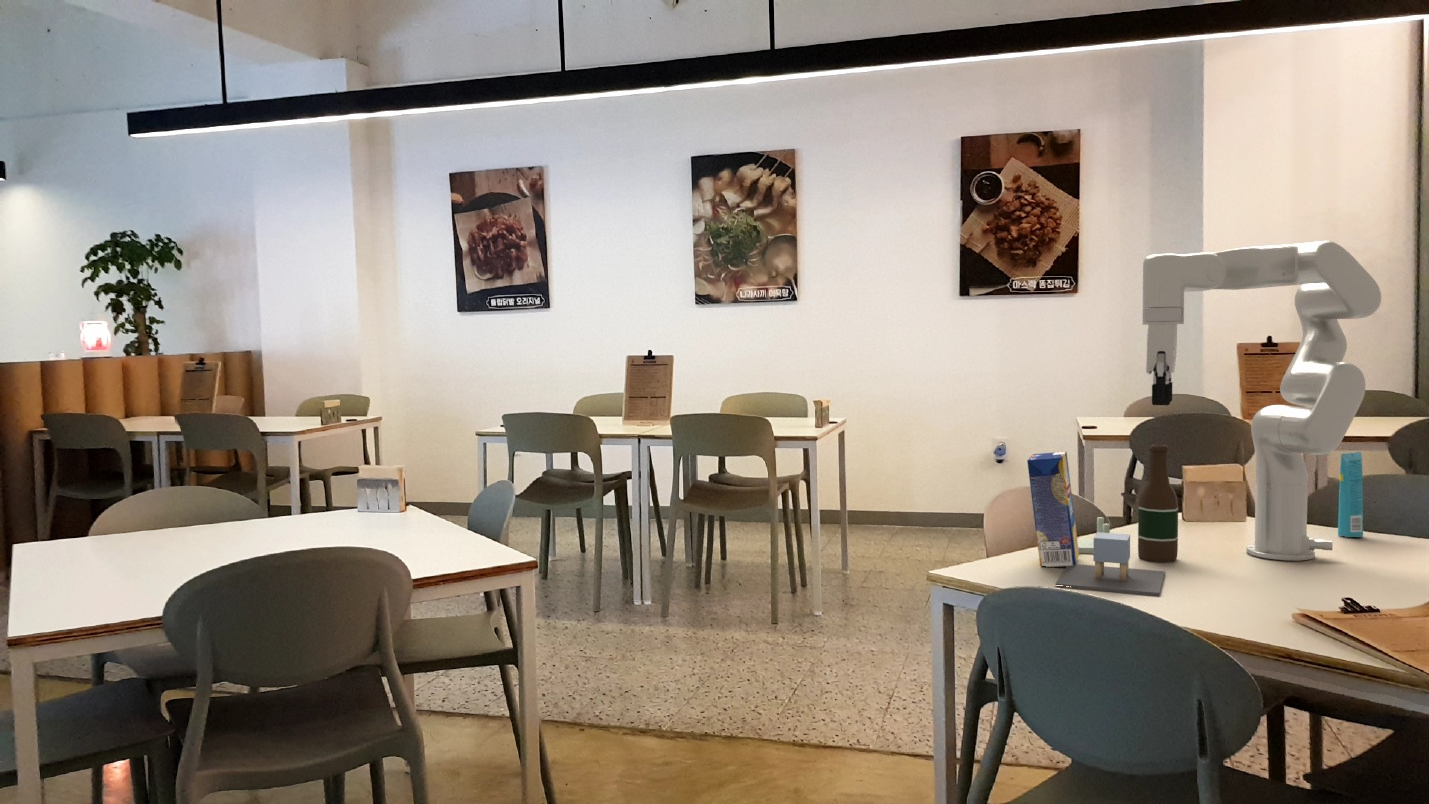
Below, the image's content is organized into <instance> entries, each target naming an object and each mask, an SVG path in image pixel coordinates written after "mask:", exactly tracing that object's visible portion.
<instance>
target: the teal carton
mask: <svg viewBox="0 0 1429 804" xmlns="http://www.w3.org/2000/svg"><path fill="white" fill-rule="evenodd" d="M1340 457H1341V458H1340V467H1339V468H1340V469H1339V486H1338V487H1339V491H1338V515H1337V516H1338V519H1337V535H1339V537H1340V536H1345V537H1344V538H1346V537H1361V538H1363V537H1362V536H1364V501H1363V499H1364V491H1363V490H1364V489H1363V487H1364V486H1363V483H1364V482H1363V480H1364V479H1363V478H1364V477H1363V476H1364V475H1363V458H1362V452H1361V451H1356V452H1348V453H1344V452H1343V453H1341V455H1340Z"/></svg>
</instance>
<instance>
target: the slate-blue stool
mask: <svg viewBox="0 0 1429 804" xmlns="http://www.w3.org/2000/svg"><path fill="white" fill-rule="evenodd" d="M1093 539H1094V553H1093V562H1094V566H1095V579H1098V580H1100V579H1102V574H1104V566H1105V563H1110V564H1119V568H1120V581H1122V582H1126V577H1127V576H1128V568H1129V563H1130V562H1129V561H1130V559H1131V534H1129V533H1114V532H1110V533H1101V532H1097V531H1096V533H1095V535H1094V537H1093Z"/></svg>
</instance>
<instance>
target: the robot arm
mask: <svg viewBox="0 0 1429 804" xmlns="http://www.w3.org/2000/svg"><path fill="white" fill-rule="evenodd" d="M1298 285H1300V286H1299V287H1298V289H1297V290H1296V292H1295V295H1294V306H1295V310H1296V313H1297V315H1298V318H1299V322H1300V325H1301V328H1302V337H1301V342H1300V344H1299V345H1298V348H1297V350H1296V351H1295V354H1294V355H1293V357H1292V360H1291V361H1290V363H1289V365H1288V368H1287V369H1286V370H1285V374H1284V375H1283V377H1282V380H1281V383H1280V385H1279V391H1280V392H1279V393H1280V395H1281V397H1282V399H1283V400H1285V402H1287V403H1290V404H1293V405H1289V404H1288V405H1287V404H1274V405H1273V404H1271V405H1268V406H1264V407H1263V408H1261V409H1259V410H1258V411H1257V412H1256V413H1255V414H1254V416H1253V418H1252V421H1251V424H1250V425H1251V426H1250V429H1251V430H1250V431H1251V439H1252V442H1253V447H1254V453H1255V506H1254V507H1255V508H1254V509H1255V510H1254V511H1255V512H1254V516H1255V517H1254V543H1253V544H1248V545H1247V546H1246V551H1245V552H1246V553H1247V554H1249V555H1250V556H1253V557H1257V558H1261V559H1262V558H1263V559H1267V560H1276V561H1277V560H1278V561H1288V562H1289V561H1292V562H1293V561H1295V562H1296V561H1307V560H1308V559H1309V560H1312V559H1314V558H1315V557H1316V552H1315V550H1322V551H1333V540H1325V539H1315V538H1311V537H1310V536H1309V533H1308V532H1307V531H1308V530H1307V529H1308V523H1307V522H1308V490H1309V489H1308V488H1309V487H1308V483H1309V472H1308V468H1307V465H1306V462H1305V460H1304V459H1305V458H1304V456H1302V454H1305V455H1315V456H1317V455H1318V456H1322V455H1323V456H1325V455H1328V454H1331V453H1333V452H1334V451H1336V449H1337V448H1338V447H1339V445H1340V444H1341V443H1342V441H1343V439H1344V437H1345V435H1346V434H1347V432H1348V430H1349V428H1350V426H1351V425H1352V423H1353V420H1354V418H1355V416H1356V414H1357V412H1358V410H1359V408H1360V407H1361V404H1362V402H1363V400H1364V397H1365V393H1366V379H1365V375H1364V373H1363V371H1362V370H1361V369H1360V368H1359V367H1358V366H1357V365H1355V364H1353V363H1350V362H1346V361H1345V362H1343V359H1344V357H1345V355H1346V353H1347V349H1348V345H1347V344H1348V343H1347V342H1348V341H1347V338H1346V336H1345V333H1344V331H1343V329H1342V327H1341V325H1340V323H1339V321H1338V320H1352V319H1353V320H1354V319H1355V320H1358V319H1364V318H1367V317H1369V316H1372V315H1373V314H1375V313H1376V312H1377V311H1378V309H1379V308H1380V305H1381V303H1382V291H1381V289H1380V287H1379V285H1378V283H1377V281H1376V280H1375V278H1374V277H1373V276H1372V275H1371V274H1370V273H1369V272H1368V271H1367V270H1366V269H1365V267H1363V266H1362V265H1361V264H1360V262H1359V261H1358V260H1357V259H1356V258H1355V256H1353V255H1352V254H1351V253H1350V252H1349V251H1347V249H1345V248H1344V247H1343V246H1341V245H1340V244H1338V243H1336V242H1334V241H1329V240H1323V241H1321V240H1320V241H1313V242H1312V241H1311V242H1303V243H1291V244H1288V243H1287V244H1276V245H1263V246H1247V247H1240V248H1234V249H1227V250H1223V251H1222V250H1221V251H1217V252H1195V253H1185V254H1177V253H1160V254H1158V253H1157V254H1151V255H1150V254H1149V255H1148V256H1146V257H1145V258H1144V260H1143V263H1142V325H1143V326H1146V325H1147V332H1146V333H1147V334H1146V336H1147V337H1146V366H1145V367H1146V368H1145V373H1146V374H1147V375H1151V374H1152V373H1153V374H1152V376H1153V378H1152V383H1153V384H1151V405H1153V406H1169V405H1170V404H1171V403H1172V401H1173V381H1172V374H1173V373H1174V372H1175V370H1176V369H1175V367H1176V359H1177V346H1178V325H1184V324H1185V293H1186V292H1187V293H1189V292H1204V291H1211V290H1231V291H1235V290H1236V291H1237V290H1238V291H1239V290H1253V289H1263V288H1276V287H1286V286H1288V287H1290V286H1298ZM1309 560H1308V561H1309Z"/></svg>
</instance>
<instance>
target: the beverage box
mask: <svg viewBox="0 0 1429 804" xmlns="http://www.w3.org/2000/svg"><path fill="white" fill-rule="evenodd" d="M1027 468H1028V476H1029V477H1028V478H1029V484H1030V485H1029V487H1030V492H1031V502H1032V503H1031V504H1032V510H1033V519H1034V525H1035V535H1036V541H1037V542H1036V543H1037V551H1038V558H1039V559H1038V560H1039V566H1046V567H1045V568H1048V567H1049V568H1050V567H1066V566H1075V565H1076V564H1077V561H1078V558H1079V556H1080V553H1079V550H1078V542H1077V538H1078V535H1077V526H1076V518H1075V510H1074V509H1075V508H1074V502H1073V494H1072V486H1071V477H1070V467H1069V461H1068V454H1067V450H1066V451H1057V452H1056V451H1055V452H1043V453H1033V454H1031V455H1030V456H1029V458H1028V459H1027Z"/></svg>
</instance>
